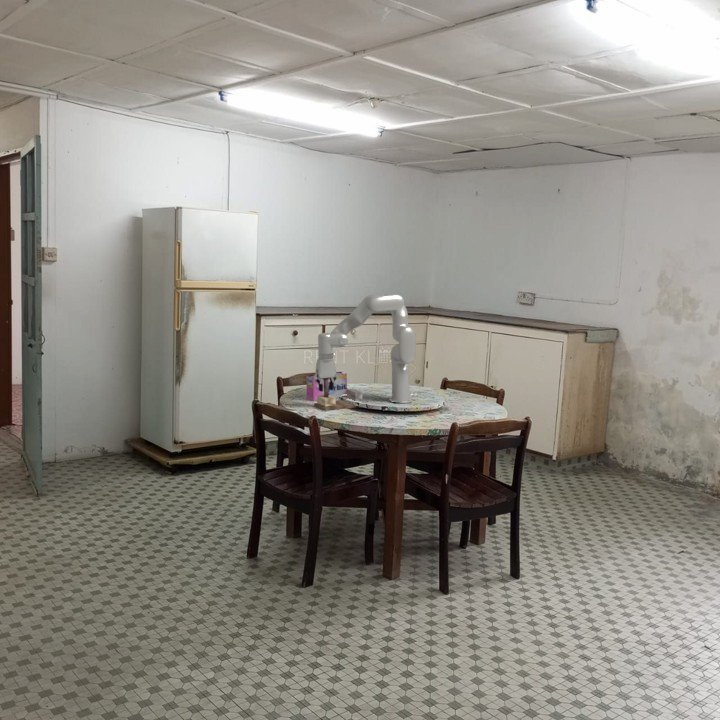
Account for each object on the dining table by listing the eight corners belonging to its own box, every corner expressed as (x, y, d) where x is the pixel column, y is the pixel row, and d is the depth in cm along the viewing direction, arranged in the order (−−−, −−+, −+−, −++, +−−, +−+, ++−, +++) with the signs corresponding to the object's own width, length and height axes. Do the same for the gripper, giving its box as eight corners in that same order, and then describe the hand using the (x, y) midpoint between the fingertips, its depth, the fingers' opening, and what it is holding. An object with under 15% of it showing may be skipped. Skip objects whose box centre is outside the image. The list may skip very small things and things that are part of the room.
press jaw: (327, 402, 393) (326, 372, 391) (335, 405, 385) (335, 375, 382) (317, 403, 391) (316, 373, 388) (325, 406, 382) (324, 376, 379)
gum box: (342, 394, 424) (341, 371, 421) (349, 396, 417) (349, 373, 415) (306, 399, 410) (305, 375, 408) (313, 401, 404) (312, 377, 402)
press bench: (353, 401, 403) (353, 387, 402) (365, 405, 391) (365, 392, 390) (314, 406, 392) (313, 392, 391) (325, 410, 380) (325, 396, 379)
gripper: (336, 354, 391) (337, 387, 394) (307, 357, 383) (308, 390, 386) (343, 356, 384) (343, 390, 387) (313, 358, 376) (314, 393, 379)
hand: (326, 390), depth 386 cm, fingers open, 5 cm apart
